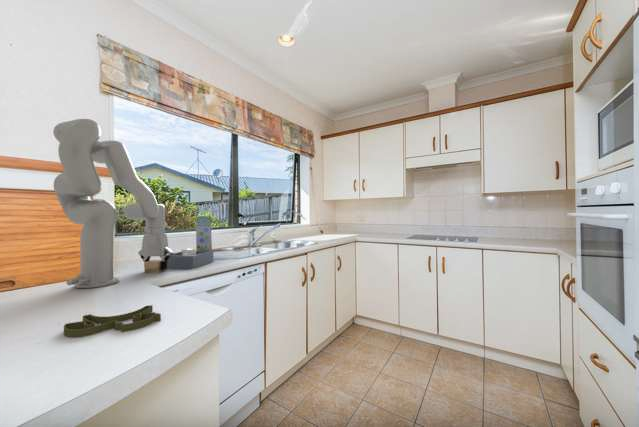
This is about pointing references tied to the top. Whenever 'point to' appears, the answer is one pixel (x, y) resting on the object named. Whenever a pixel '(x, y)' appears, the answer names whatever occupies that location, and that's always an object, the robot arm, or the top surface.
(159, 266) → the kraft carton
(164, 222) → the robot arm
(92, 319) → the cookie cutter
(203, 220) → the snack box
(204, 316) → the top surface
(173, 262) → the tote
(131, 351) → the top surface
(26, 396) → the top surface
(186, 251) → the steel tin
